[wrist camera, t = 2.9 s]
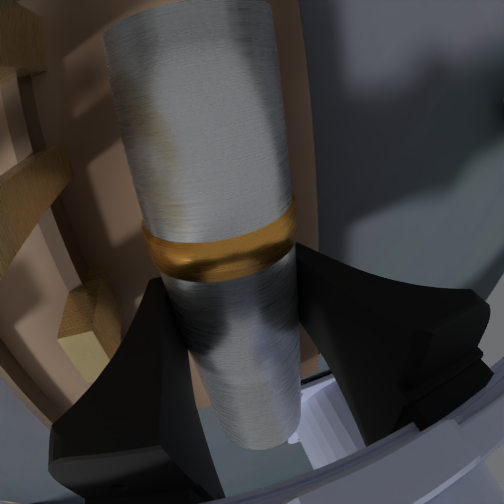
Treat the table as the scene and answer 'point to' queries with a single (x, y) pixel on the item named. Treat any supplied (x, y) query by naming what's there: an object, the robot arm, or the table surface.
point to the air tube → (217, 198)
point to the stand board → (106, 193)
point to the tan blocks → (40, 199)
